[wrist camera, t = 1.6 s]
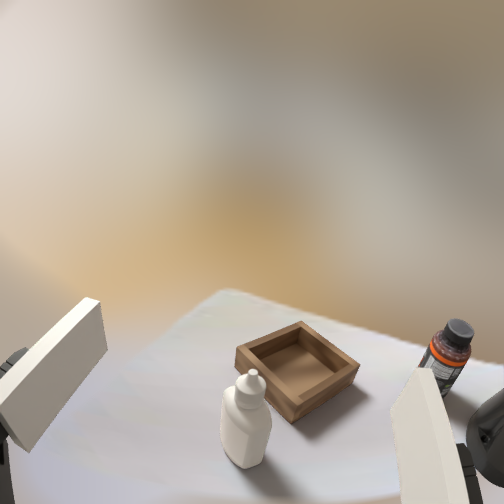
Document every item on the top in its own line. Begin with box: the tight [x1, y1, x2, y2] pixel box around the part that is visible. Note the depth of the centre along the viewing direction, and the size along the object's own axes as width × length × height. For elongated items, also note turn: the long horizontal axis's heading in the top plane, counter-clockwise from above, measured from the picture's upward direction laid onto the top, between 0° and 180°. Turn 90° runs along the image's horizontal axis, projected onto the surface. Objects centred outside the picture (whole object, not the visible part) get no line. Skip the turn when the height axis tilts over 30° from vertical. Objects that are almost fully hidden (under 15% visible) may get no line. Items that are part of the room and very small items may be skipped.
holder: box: [235, 321, 360, 424], centre depth 38 cm, size 11×11×4 cm
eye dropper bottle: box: [220, 369, 272, 469], centre depth 25 cm, size 4×6×12 cm
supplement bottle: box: [418, 319, 474, 400], centre depth 34 cm, size 6×6×11 cm
